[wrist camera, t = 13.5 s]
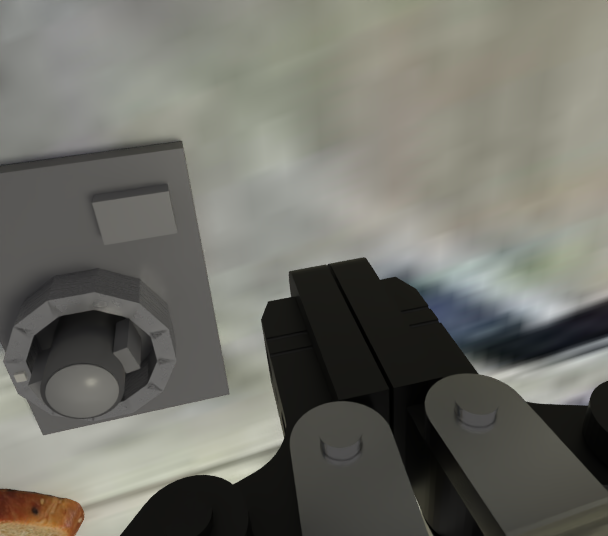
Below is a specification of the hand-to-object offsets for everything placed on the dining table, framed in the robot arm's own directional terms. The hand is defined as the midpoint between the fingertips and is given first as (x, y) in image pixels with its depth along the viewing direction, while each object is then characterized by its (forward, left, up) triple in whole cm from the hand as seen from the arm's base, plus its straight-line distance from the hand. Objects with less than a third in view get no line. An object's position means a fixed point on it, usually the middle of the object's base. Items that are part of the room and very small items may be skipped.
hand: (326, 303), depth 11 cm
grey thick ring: (+10, +16, -23) cm, 30 cm away
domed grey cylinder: (+11, +15, -24) cm, 30 cm away
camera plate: (+9, +14, -25) cm, 30 cm away
